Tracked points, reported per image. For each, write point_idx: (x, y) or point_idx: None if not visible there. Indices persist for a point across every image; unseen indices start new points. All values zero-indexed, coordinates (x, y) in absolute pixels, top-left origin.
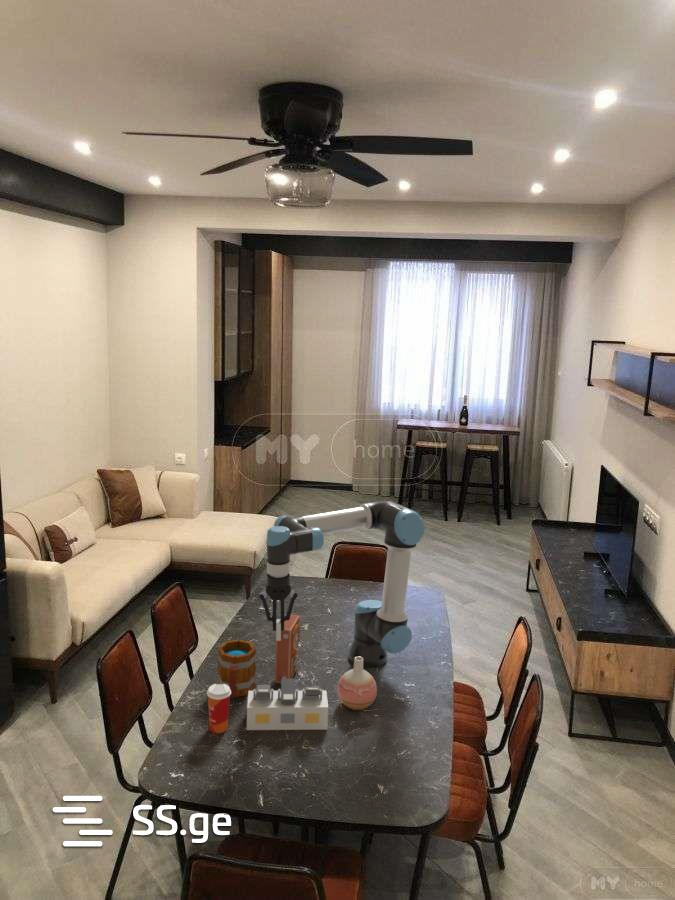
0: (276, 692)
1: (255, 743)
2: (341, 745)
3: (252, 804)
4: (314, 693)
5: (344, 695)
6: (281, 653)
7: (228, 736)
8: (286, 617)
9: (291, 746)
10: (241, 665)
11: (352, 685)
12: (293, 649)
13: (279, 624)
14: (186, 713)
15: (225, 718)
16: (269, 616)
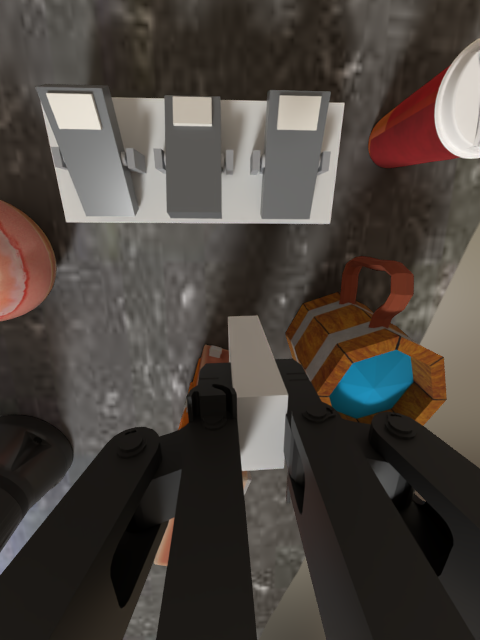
0: (237, 210)
1: (295, 50)
2: (29, 23)
3: None
4: (68, 85)
5: (9, 213)
6: None
7: (369, 95)
8: (146, 462)
9: (187, 25)
10: (356, 331)
11: None
12: (184, 414)
13: (248, 385)
14: (461, 219)
15: (401, 103)
16: (427, 465)
